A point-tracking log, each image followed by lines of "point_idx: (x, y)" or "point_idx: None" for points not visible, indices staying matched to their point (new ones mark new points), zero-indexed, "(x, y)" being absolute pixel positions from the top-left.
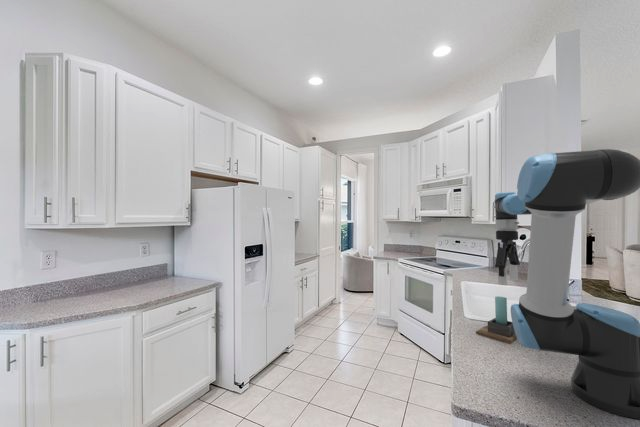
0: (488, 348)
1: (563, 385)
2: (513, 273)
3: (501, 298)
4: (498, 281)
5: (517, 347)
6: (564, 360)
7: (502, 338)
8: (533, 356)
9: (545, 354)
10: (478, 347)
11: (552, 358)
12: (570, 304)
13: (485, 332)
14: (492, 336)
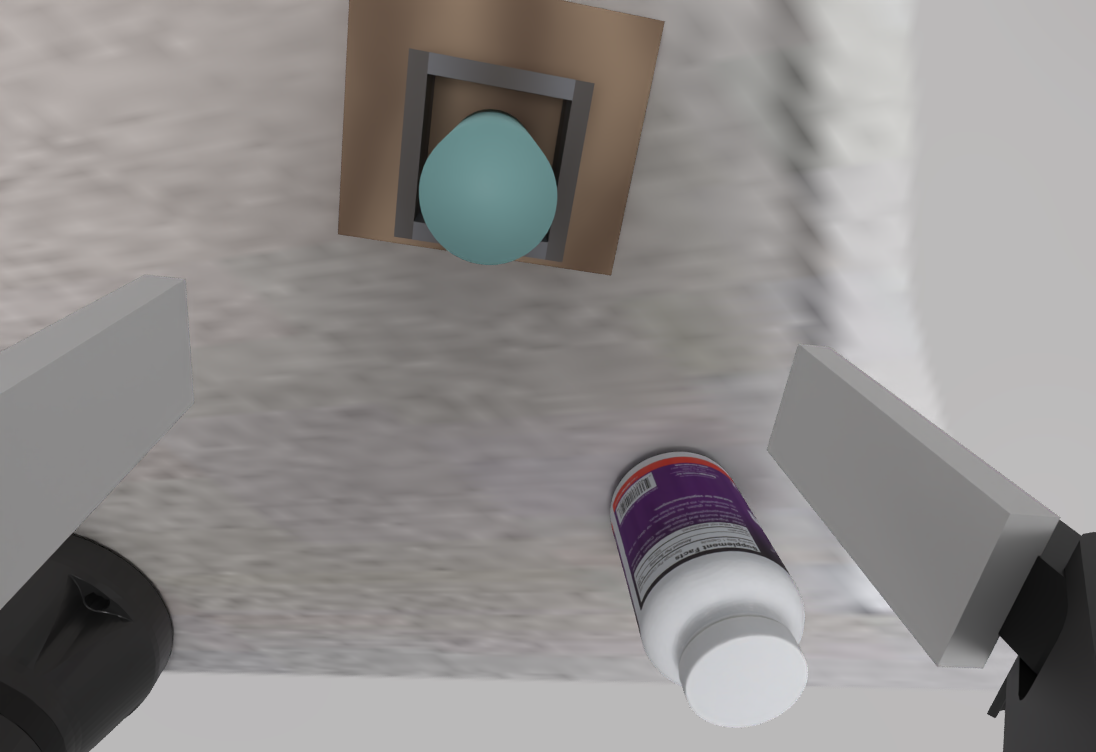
0: (130, 121)
1: None
2: (844, 467)
3: (448, 212)
4: (114, 294)
5: (324, 277)
6: (331, 487)
7: (349, 183)
8: (250, 368)
9: (341, 413)
10: (79, 53)
11: (309, 444)
12: (737, 684)
13: (382, 40)
14: (345, 107)
